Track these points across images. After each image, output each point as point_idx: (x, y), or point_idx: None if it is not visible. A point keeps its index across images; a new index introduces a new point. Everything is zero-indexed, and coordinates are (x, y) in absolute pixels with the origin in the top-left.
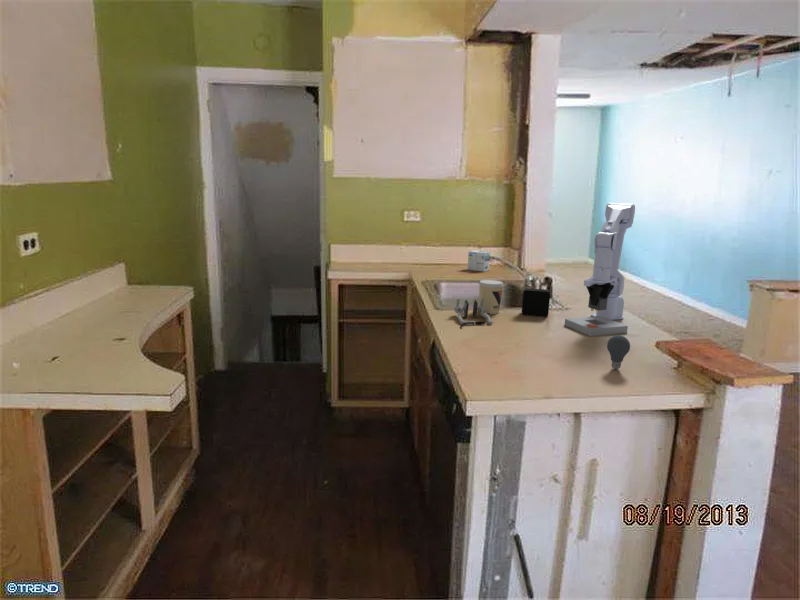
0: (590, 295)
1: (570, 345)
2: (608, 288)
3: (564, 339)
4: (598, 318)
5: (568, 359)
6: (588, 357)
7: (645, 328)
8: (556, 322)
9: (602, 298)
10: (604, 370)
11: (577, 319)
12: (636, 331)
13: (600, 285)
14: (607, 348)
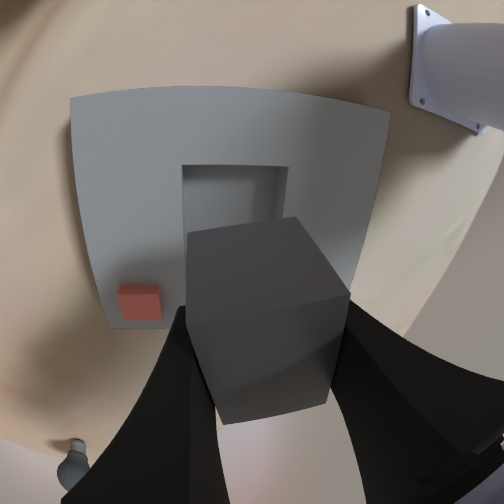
0: (151, 397)
1: (17, 350)
2: (368, 488)
3: (7, 305)
4: (328, 155)
5: (7, 396)
6: (45, 406)
7: (435, 259)
8: (87, 28)
9: (279, 404)
10: (59, 435)
11: (146, 132)
12: (377, 285)
13: (423, 469)
14: (58, 466)
